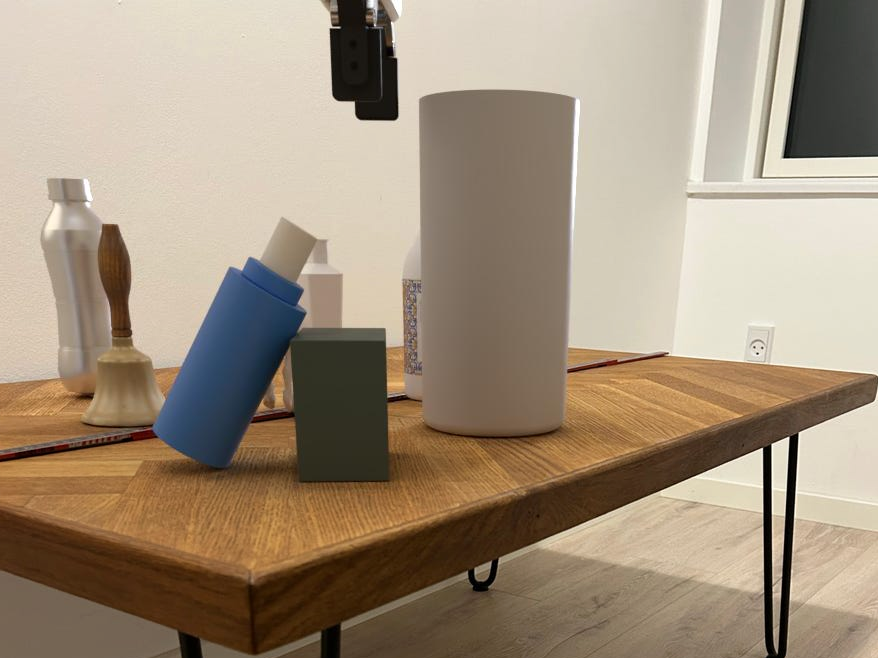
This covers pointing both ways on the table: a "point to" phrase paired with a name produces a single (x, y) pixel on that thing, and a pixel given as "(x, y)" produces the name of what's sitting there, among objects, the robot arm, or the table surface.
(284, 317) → the blue bottle
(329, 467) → the green block
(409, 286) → the bath foam
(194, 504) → the table surface
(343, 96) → the robot arm
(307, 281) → the perfume bottle
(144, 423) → the hand bell
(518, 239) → the cylinder vase
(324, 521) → the table surface
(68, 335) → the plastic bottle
